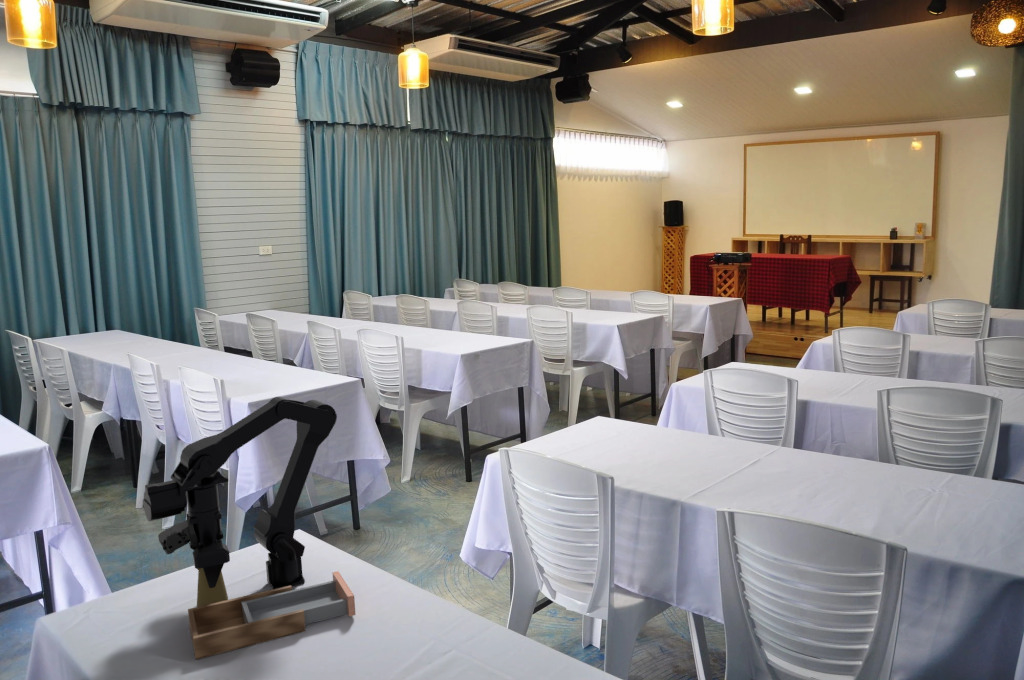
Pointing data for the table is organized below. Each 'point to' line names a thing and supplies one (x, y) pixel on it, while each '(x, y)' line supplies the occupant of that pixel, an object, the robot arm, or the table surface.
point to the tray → (305, 602)
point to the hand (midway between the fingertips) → (210, 582)
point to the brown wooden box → (238, 625)
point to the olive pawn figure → (210, 590)
